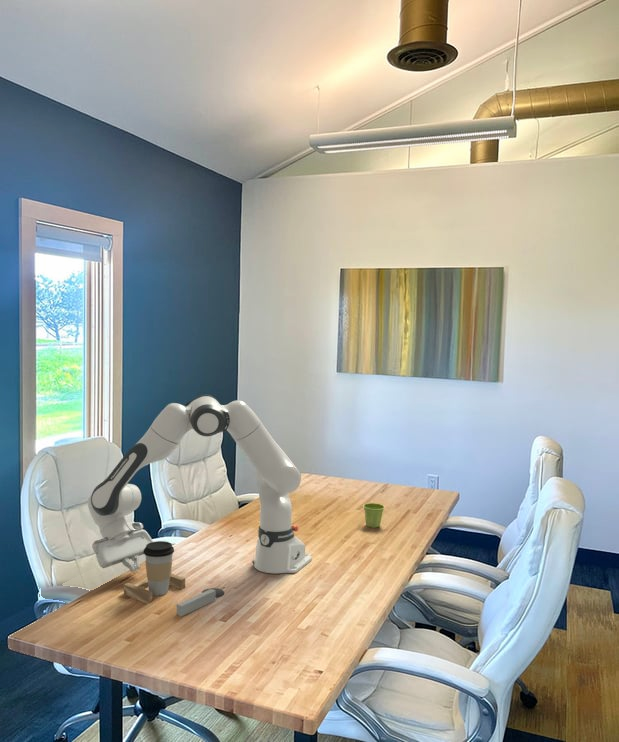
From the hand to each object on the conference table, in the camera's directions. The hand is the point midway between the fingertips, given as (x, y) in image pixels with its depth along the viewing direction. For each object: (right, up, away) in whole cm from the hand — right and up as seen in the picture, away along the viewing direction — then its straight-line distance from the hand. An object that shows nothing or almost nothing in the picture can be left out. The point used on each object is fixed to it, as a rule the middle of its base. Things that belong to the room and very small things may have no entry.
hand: (136, 570), depth 202 cm
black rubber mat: (+26, -5, -6) cm, 27 cm away
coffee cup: (+9, -5, -6) cm, 12 cm away
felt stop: (+23, -6, -16) cm, 28 cm away
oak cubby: (+7, -5, -5) cm, 10 cm away
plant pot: (+84, -3, +68) cm, 108 cm away
